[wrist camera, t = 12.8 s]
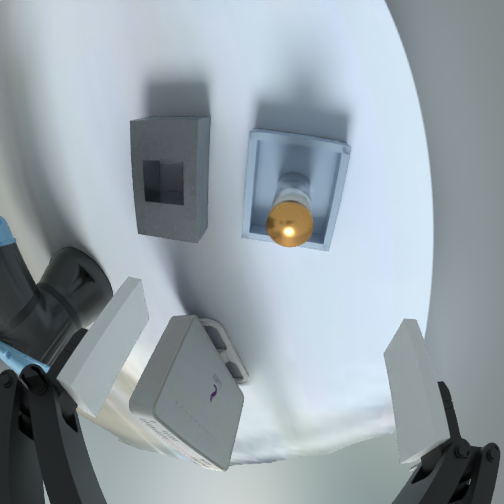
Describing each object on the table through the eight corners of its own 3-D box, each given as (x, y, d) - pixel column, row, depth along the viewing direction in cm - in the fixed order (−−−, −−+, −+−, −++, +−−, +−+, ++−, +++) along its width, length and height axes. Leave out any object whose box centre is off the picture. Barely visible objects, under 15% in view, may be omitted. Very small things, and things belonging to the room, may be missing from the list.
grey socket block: (207, 227, 35) (197, 243, 32) (152, 220, 36) (138, 233, 33) (210, 116, 28) (198, 119, 24) (148, 116, 29) (130, 120, 25)
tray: (326, 238, 33) (328, 251, 31) (246, 226, 34) (241, 237, 32) (346, 142, 27) (351, 146, 24) (254, 128, 28) (249, 131, 25)
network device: (256, 389, 54) (238, 474, 37) (219, 389, 56) (195, 468, 39) (211, 301, 42) (164, 416, 25) (165, 305, 44) (110, 404, 27)
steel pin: (275, 200, 31) (264, 243, 23) (279, 169, 29) (268, 201, 21) (307, 205, 31) (308, 250, 22) (312, 174, 29) (317, 208, 20)
